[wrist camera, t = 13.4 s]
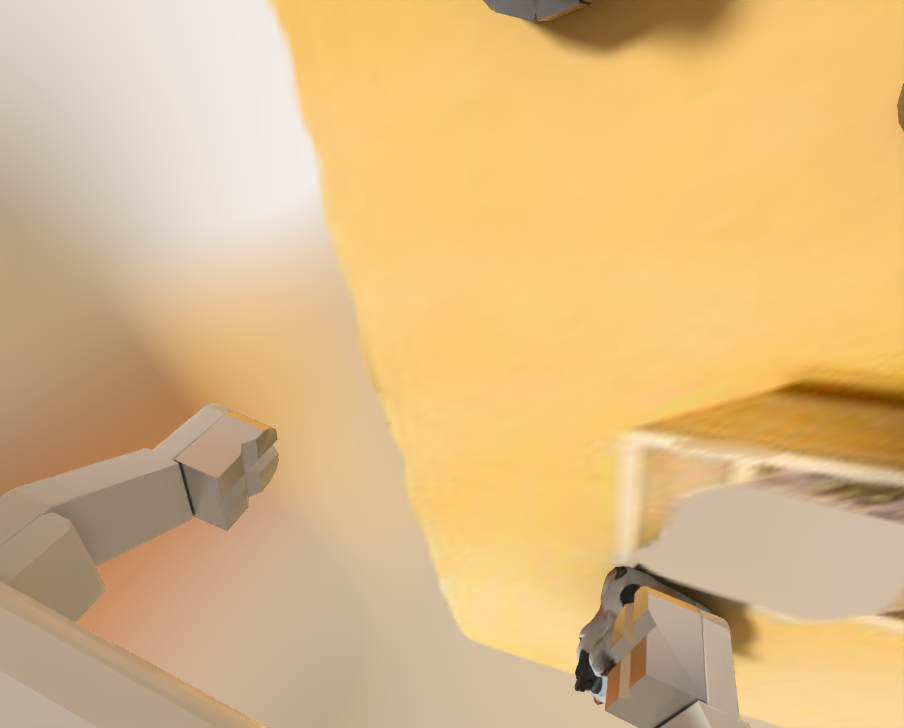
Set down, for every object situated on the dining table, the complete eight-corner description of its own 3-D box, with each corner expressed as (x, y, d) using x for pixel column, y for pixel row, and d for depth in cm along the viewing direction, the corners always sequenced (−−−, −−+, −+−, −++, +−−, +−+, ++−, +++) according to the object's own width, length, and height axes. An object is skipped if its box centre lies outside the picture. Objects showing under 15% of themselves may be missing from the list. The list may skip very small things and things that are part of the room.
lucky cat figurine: (729, 645, 54) (676, 774, 49) (626, 585, 62) (571, 690, 57) (731, 602, 44) (664, 758, 39) (608, 536, 52) (539, 659, 47)
